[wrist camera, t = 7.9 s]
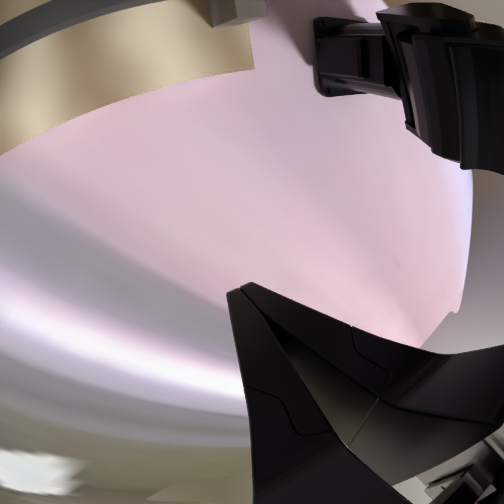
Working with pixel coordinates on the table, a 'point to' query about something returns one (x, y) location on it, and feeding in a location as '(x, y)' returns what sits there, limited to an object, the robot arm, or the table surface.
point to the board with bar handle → (118, 59)
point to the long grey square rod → (56, 20)
